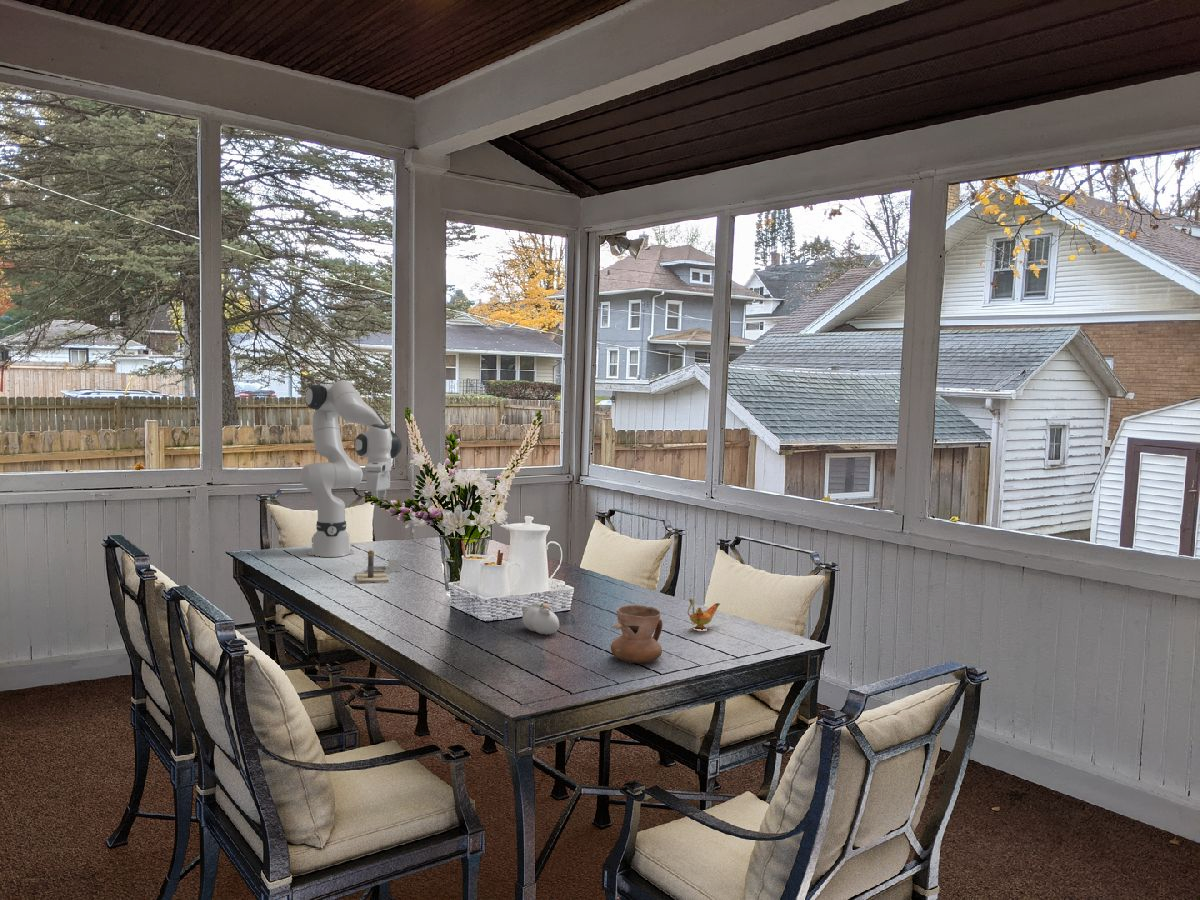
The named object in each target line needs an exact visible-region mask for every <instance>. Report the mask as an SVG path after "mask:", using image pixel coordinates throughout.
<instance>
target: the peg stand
mask: <svg viewBox="0 0 1200 900" xmlns="http://www.w3.org/2000/svg"><path fill="white" fill-rule="evenodd" d="M374 561H375V551H374V550H369V551H368V552H367V567H368V572H354V573H355V574H354V575H355V579H356V582H358V583H360V584H369V583H368V582H384V583H389V578H388V576H387V575H388V574H386V573H385V572H374V566H375V565H374V563H375V562H374ZM366 582H367V583H366ZM358 583H357V584H358Z"/></svg>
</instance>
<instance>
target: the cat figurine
mask: <svg viewBox="0 0 1200 900" xmlns="http://www.w3.org/2000/svg"><path fill="white" fill-rule="evenodd" d="M520 608H521V611H522V615H521V616H522V618H521V619H522V623H523V624H524V626H525V627H526V628H527V629H528V630H529V631H532V632H536V633H537V634H541V635H543V634H545V635H546V636H547V635H548V634H549V635H552V634H554V633H556V632H557V631H558V629H559V628H560V620H559V617H558V616H557V615H556V614H555V613H554V611H552V610H551V609H552V608H551V607H550V606H549V605H548V604H543V603H541V602H540V601H536V602H532V604H530V605H529V606H525V605H522V606H521V607H520Z"/></svg>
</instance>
